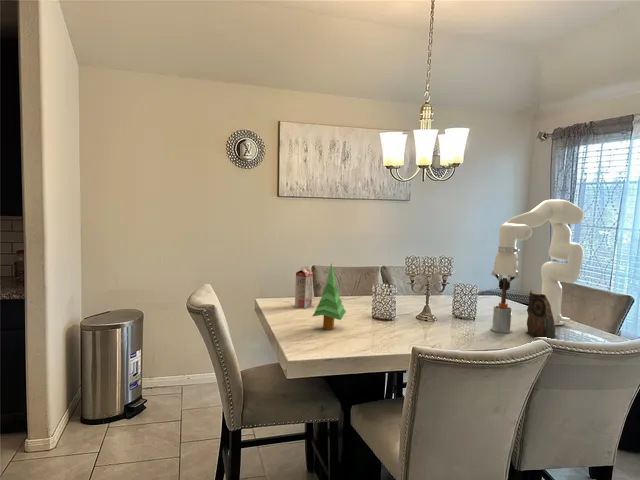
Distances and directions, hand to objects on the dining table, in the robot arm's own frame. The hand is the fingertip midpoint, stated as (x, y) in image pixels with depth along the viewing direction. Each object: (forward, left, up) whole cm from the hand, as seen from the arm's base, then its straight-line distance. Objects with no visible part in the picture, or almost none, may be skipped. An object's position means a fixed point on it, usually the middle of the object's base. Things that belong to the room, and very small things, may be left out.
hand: (504, 289), depth 212 cm
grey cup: (0, 0, -20) cm, 20 cm away
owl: (-17, -4, -20) cm, 26 cm away
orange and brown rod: (0, 0, -14) cm, 14 cm away
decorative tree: (+63, +53, -20) cm, 85 cm away
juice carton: (+98, +25, -20) cm, 103 cm away
